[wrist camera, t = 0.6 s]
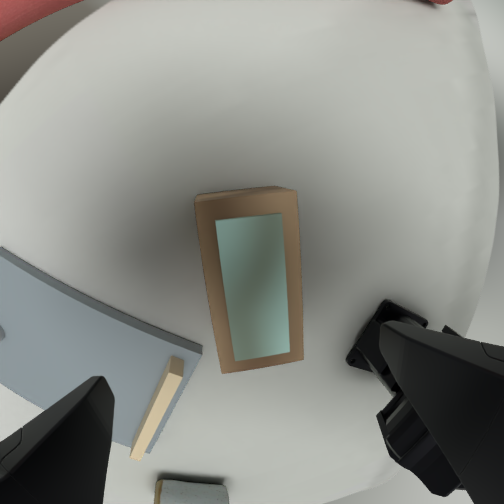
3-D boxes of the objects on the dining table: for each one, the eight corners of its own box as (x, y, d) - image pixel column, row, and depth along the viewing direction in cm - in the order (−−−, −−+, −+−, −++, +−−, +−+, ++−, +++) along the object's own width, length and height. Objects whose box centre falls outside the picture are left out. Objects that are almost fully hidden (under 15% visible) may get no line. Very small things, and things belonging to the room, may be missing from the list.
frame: (274, 185, 19) (297, 191, 14) (284, 322, 22) (304, 362, 17) (197, 194, 19) (193, 202, 14) (217, 332, 21) (222, 376, 16)
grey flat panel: (202, 346, 21) (202, 371, 18) (150, 445, 24) (147, 468, 21) (1, 246, 17) (-22, 258, 14) (-5, 369, 19) (-19, 387, 16)
